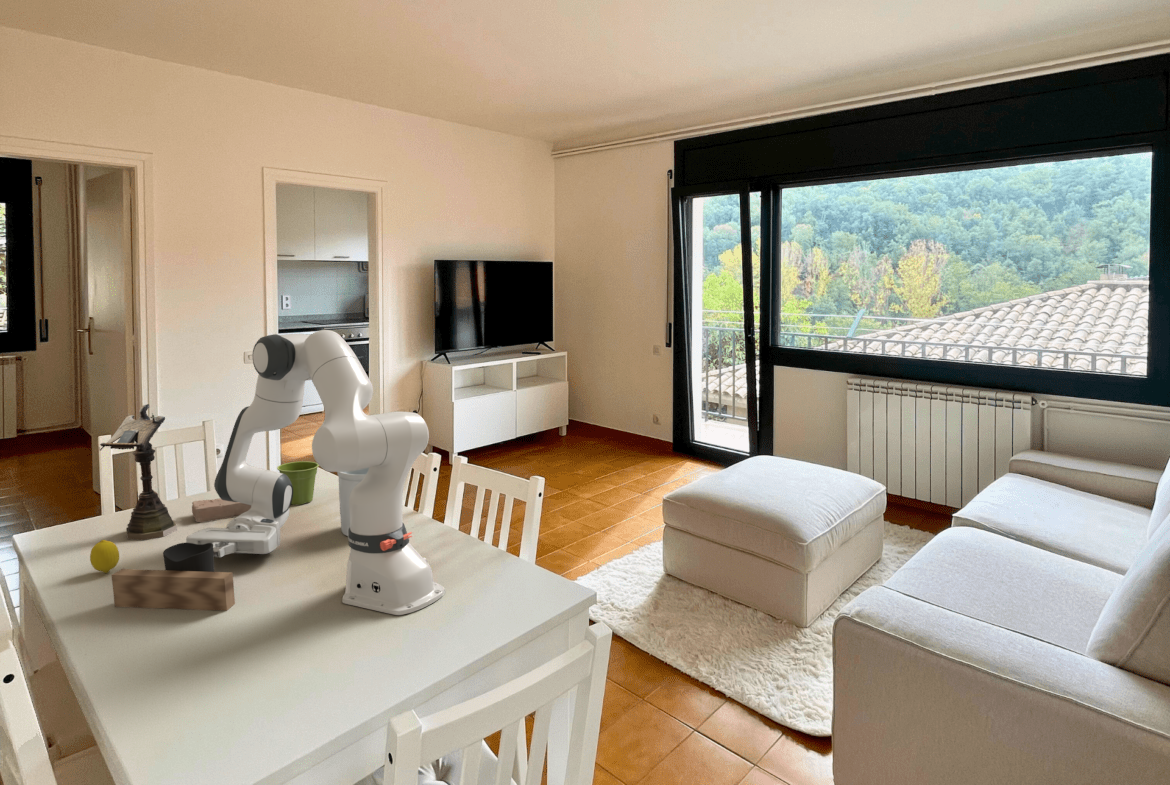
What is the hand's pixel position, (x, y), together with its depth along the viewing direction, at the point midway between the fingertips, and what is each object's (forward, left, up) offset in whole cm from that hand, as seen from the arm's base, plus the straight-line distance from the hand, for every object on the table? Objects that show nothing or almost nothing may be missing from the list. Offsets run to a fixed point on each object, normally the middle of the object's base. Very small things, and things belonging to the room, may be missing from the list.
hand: (214, 553), depth 159 cm
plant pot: (+31, -44, -5) cm, 54 cm away
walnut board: (-8, +13, -5) cm, 16 cm away
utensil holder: (-5, -40, -5) cm, 40 cm away
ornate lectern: (+39, -4, -5) cm, 39 cm away
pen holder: (-4, +8, -5) cm, 10 cm away
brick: (+38, -25, -6) cm, 46 cm away
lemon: (+22, +13, -5) cm, 26 cm away
